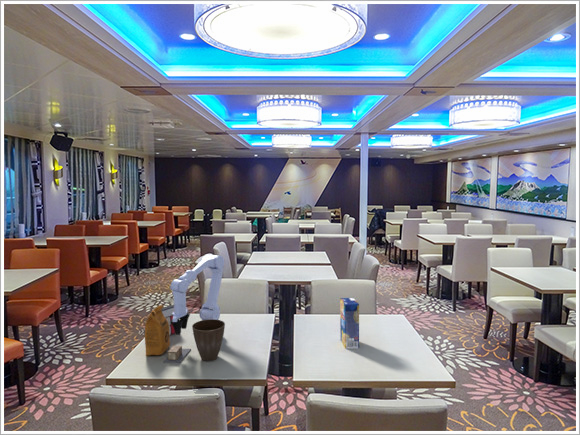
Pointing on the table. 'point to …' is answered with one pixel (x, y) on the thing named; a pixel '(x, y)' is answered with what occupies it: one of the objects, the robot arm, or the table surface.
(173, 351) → the walnut block
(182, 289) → the robot arm
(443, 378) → the table surface
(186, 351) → the rubber mat
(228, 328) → the table surface
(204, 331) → the plant pot
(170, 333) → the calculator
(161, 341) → the coffee package
